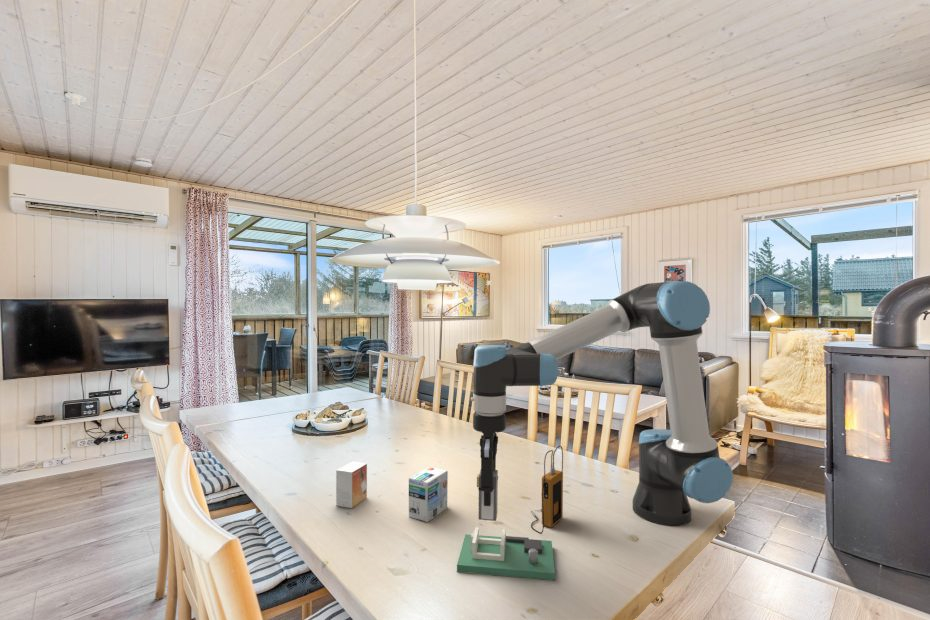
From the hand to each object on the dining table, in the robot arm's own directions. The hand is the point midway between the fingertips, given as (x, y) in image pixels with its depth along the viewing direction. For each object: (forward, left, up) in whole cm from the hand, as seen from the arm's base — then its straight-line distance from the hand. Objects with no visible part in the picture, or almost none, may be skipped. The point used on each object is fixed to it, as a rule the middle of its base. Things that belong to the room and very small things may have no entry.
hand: (488, 513), depth 101 cm
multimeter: (-12, -21, -10) cm, 26 cm away
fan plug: (0, 0, -1) cm, 1 cm away
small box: (+43, -23, -10) cm, 50 cm away
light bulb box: (+19, -20, -11) cm, 29 cm away
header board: (-4, 0, -10) cm, 11 cm away
